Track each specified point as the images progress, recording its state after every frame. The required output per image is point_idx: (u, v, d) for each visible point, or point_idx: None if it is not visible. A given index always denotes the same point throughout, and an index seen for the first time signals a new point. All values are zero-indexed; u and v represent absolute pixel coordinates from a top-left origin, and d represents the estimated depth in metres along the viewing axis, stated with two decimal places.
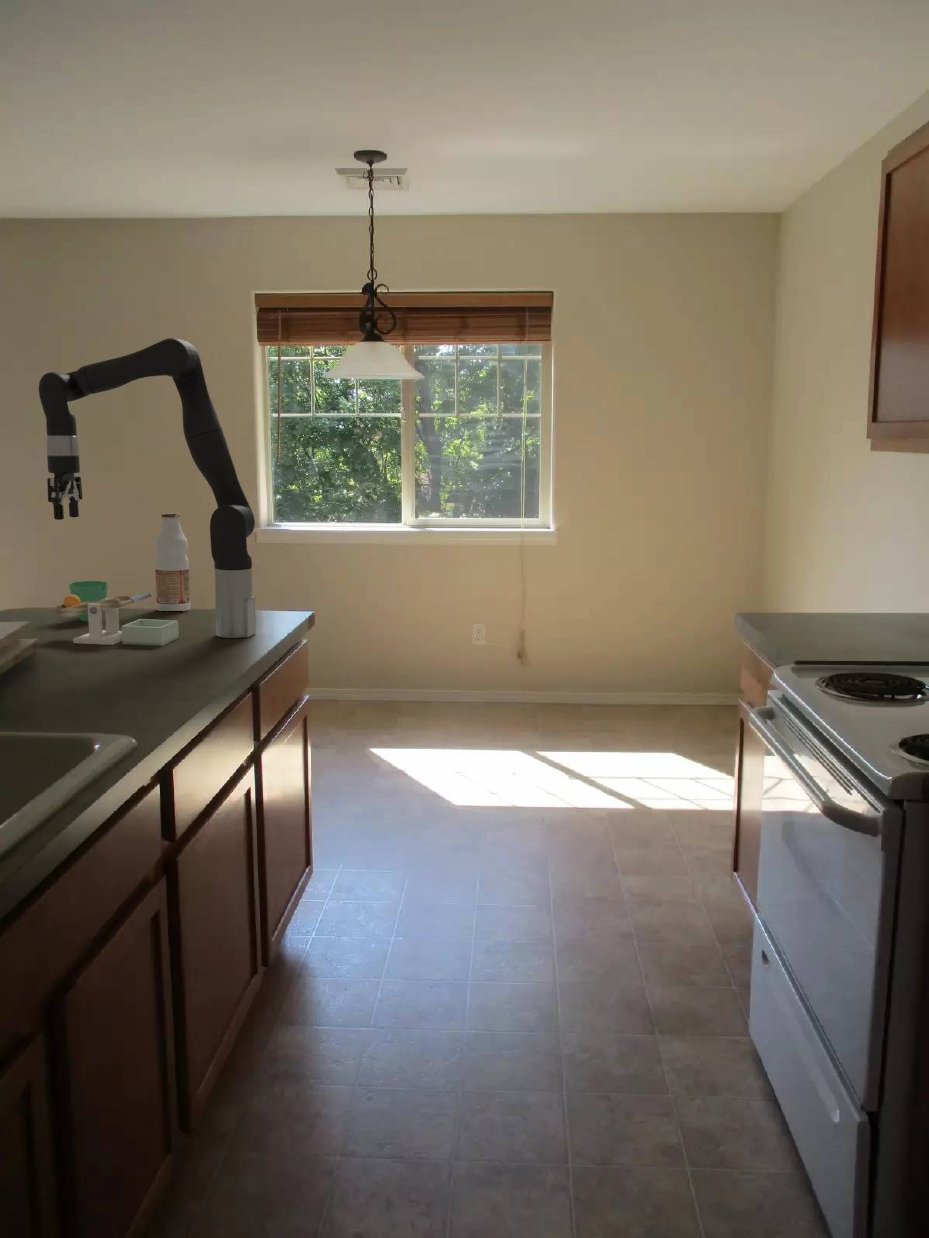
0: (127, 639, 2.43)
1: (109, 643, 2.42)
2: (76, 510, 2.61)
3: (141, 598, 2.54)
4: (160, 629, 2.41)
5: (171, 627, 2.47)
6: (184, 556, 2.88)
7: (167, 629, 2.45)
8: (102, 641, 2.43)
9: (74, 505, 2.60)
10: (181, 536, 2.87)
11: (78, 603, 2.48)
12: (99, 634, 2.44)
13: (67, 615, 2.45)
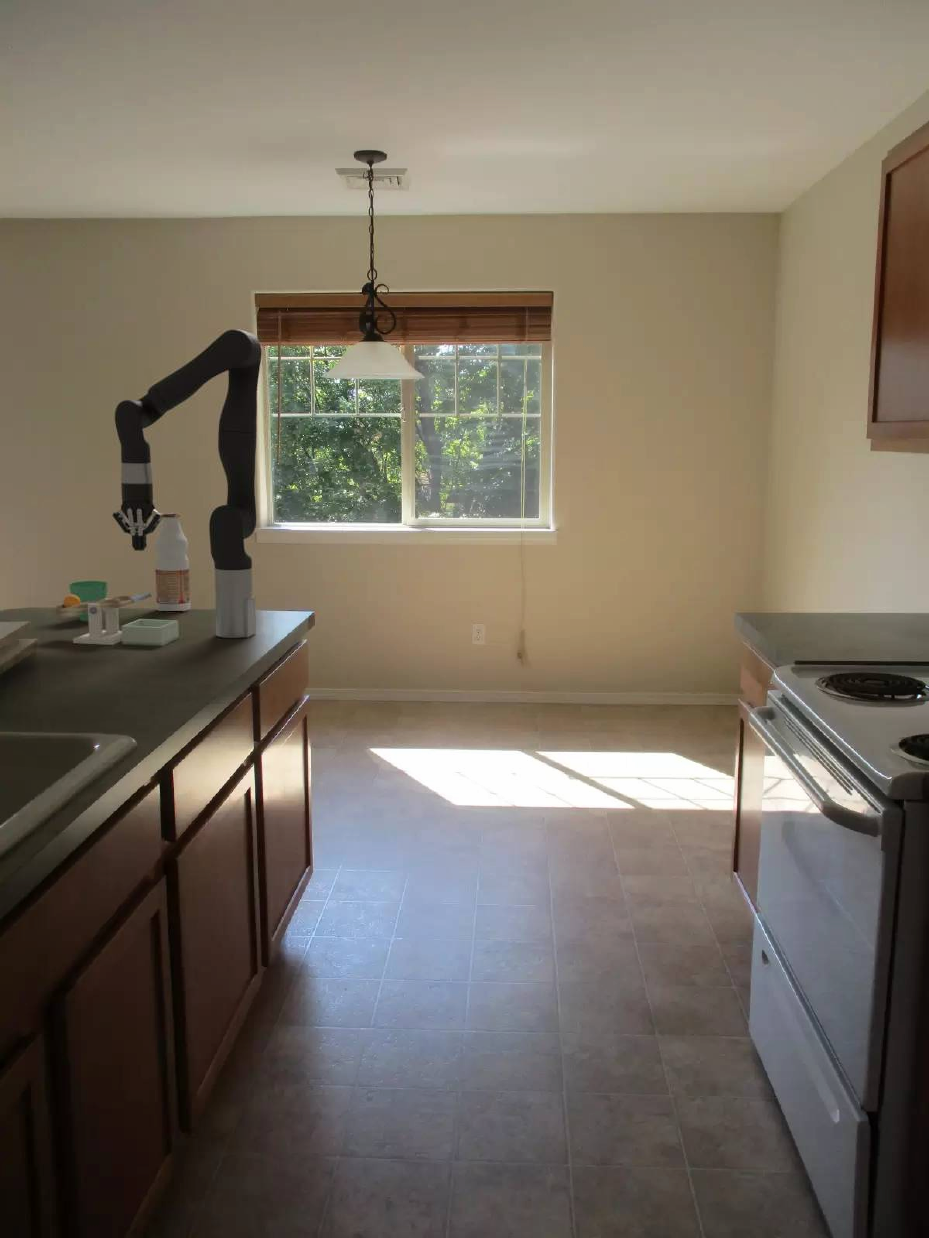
0: (127, 639, 2.43)
1: (109, 643, 2.42)
2: None
3: (141, 598, 2.54)
4: (160, 629, 2.41)
5: (171, 627, 2.47)
6: (184, 556, 2.88)
7: (167, 629, 2.45)
8: (102, 641, 2.43)
9: None
10: (181, 536, 2.87)
11: (78, 603, 2.48)
12: (99, 634, 2.44)
13: (67, 615, 2.45)
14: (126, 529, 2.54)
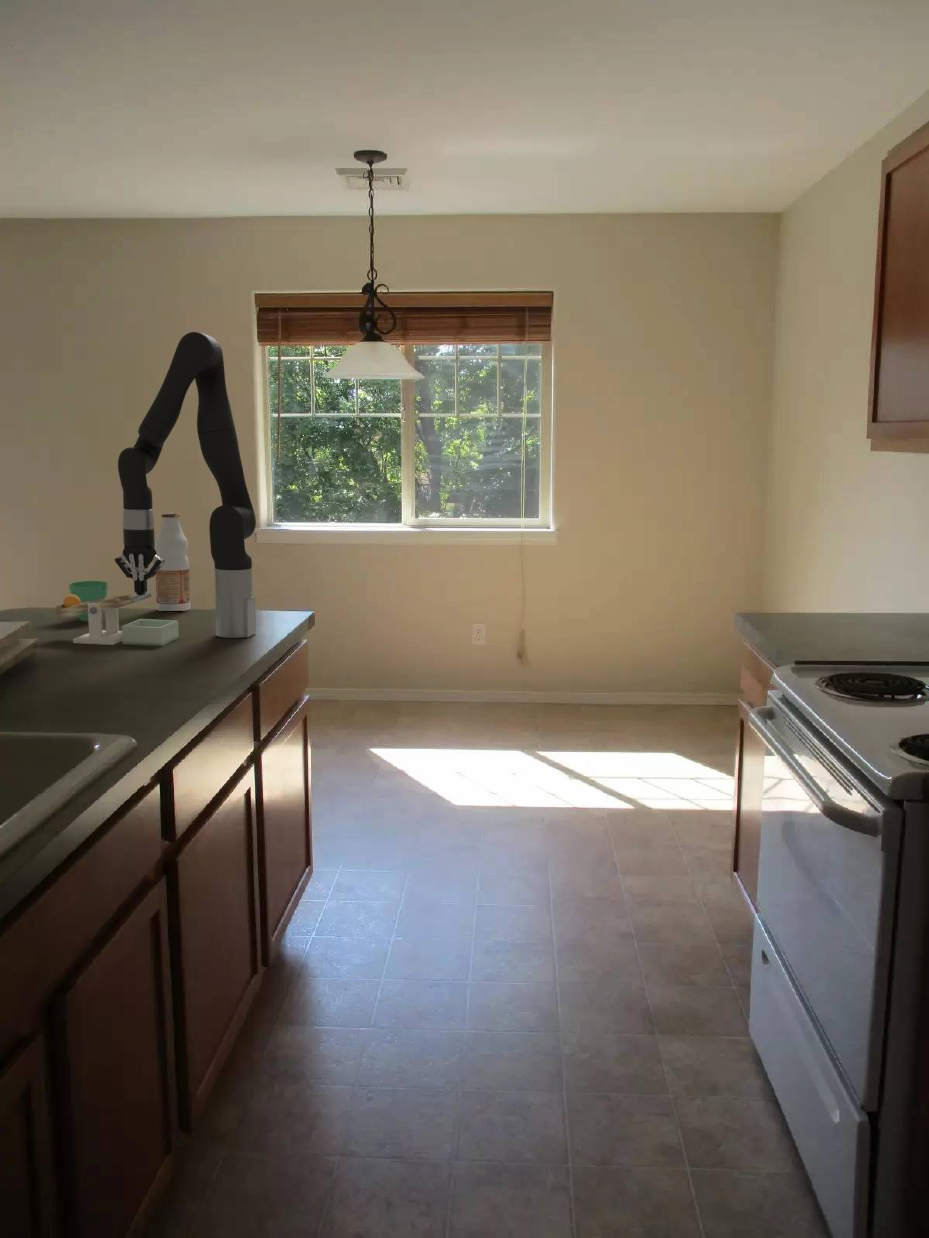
0: (127, 639, 2.43)
1: (109, 643, 2.42)
2: None
3: (141, 598, 2.54)
4: (160, 629, 2.41)
5: (171, 627, 2.47)
6: (184, 556, 2.88)
7: (167, 629, 2.45)
8: (102, 641, 2.43)
9: None
10: (181, 536, 2.87)
11: (78, 603, 2.48)
12: (99, 634, 2.44)
13: (67, 615, 2.45)
14: (128, 574, 2.56)
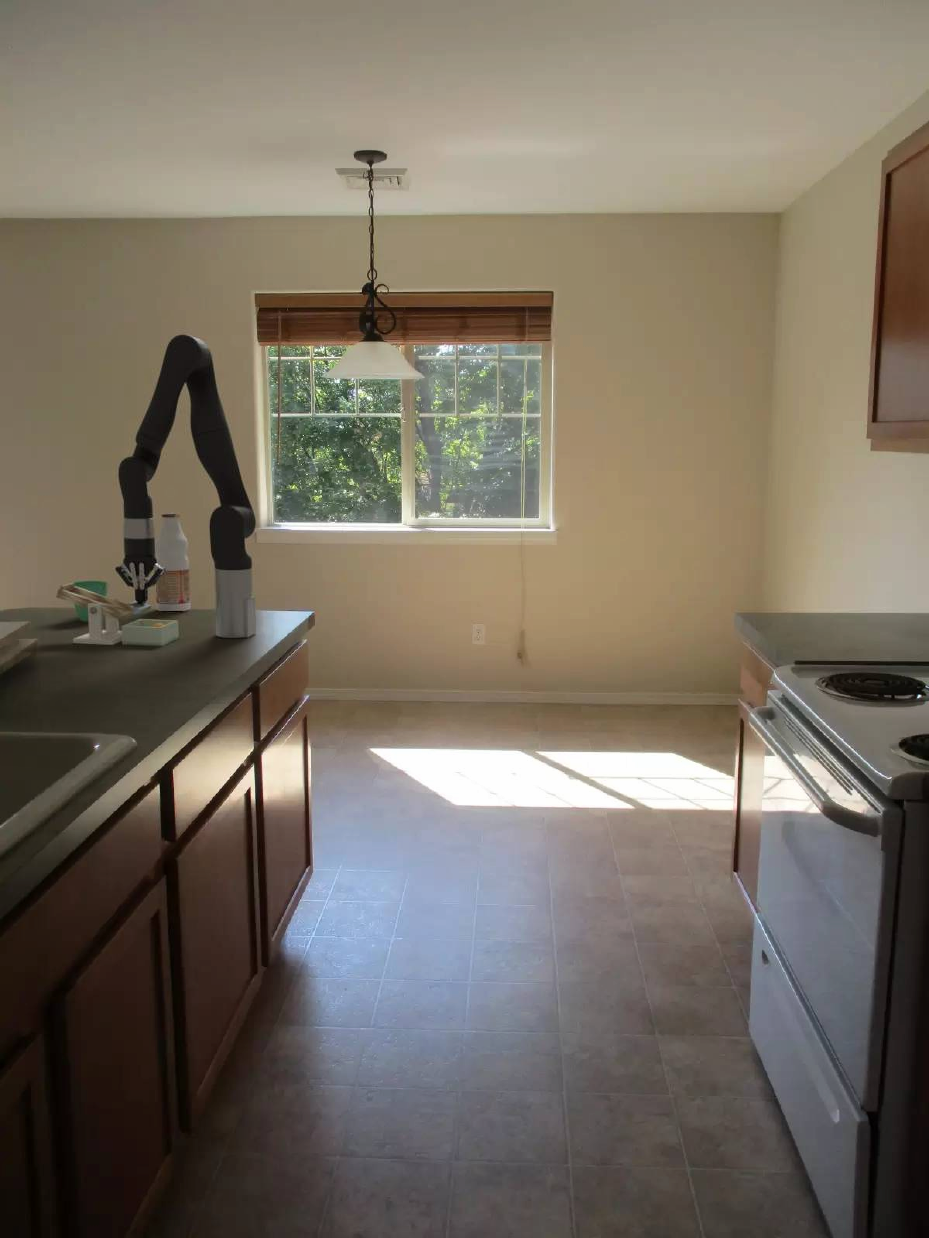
0: (127, 639, 2.43)
1: (109, 643, 2.42)
2: None
3: (141, 611, 2.54)
4: (160, 629, 2.41)
5: (171, 627, 2.47)
6: (184, 556, 2.88)
7: (167, 629, 2.45)
8: (102, 641, 2.43)
9: None
10: (181, 536, 2.87)
11: None
12: (99, 634, 2.44)
13: (66, 599, 2.45)
14: (129, 583, 2.56)
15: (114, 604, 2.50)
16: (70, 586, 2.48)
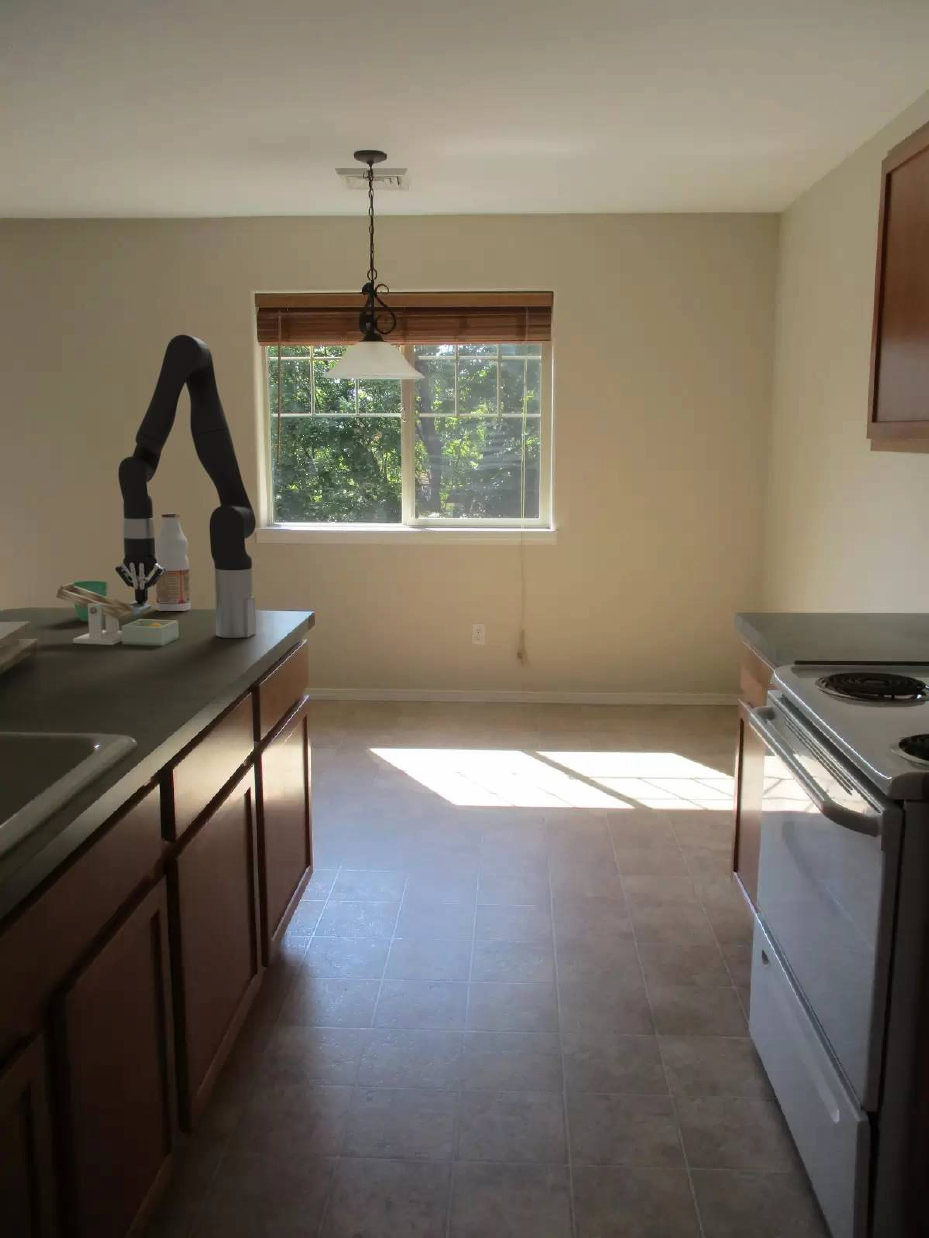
0: (127, 639, 2.43)
1: (109, 643, 2.42)
2: None
3: (141, 611, 2.54)
4: (160, 629, 2.41)
5: (171, 627, 2.47)
6: (184, 556, 2.88)
7: (167, 629, 2.45)
8: (102, 641, 2.43)
9: None
10: (181, 536, 2.87)
11: (157, 624, 2.46)
12: (99, 634, 2.44)
13: (66, 599, 2.45)
14: (129, 583, 2.56)
15: (114, 604, 2.50)
16: (70, 586, 2.48)
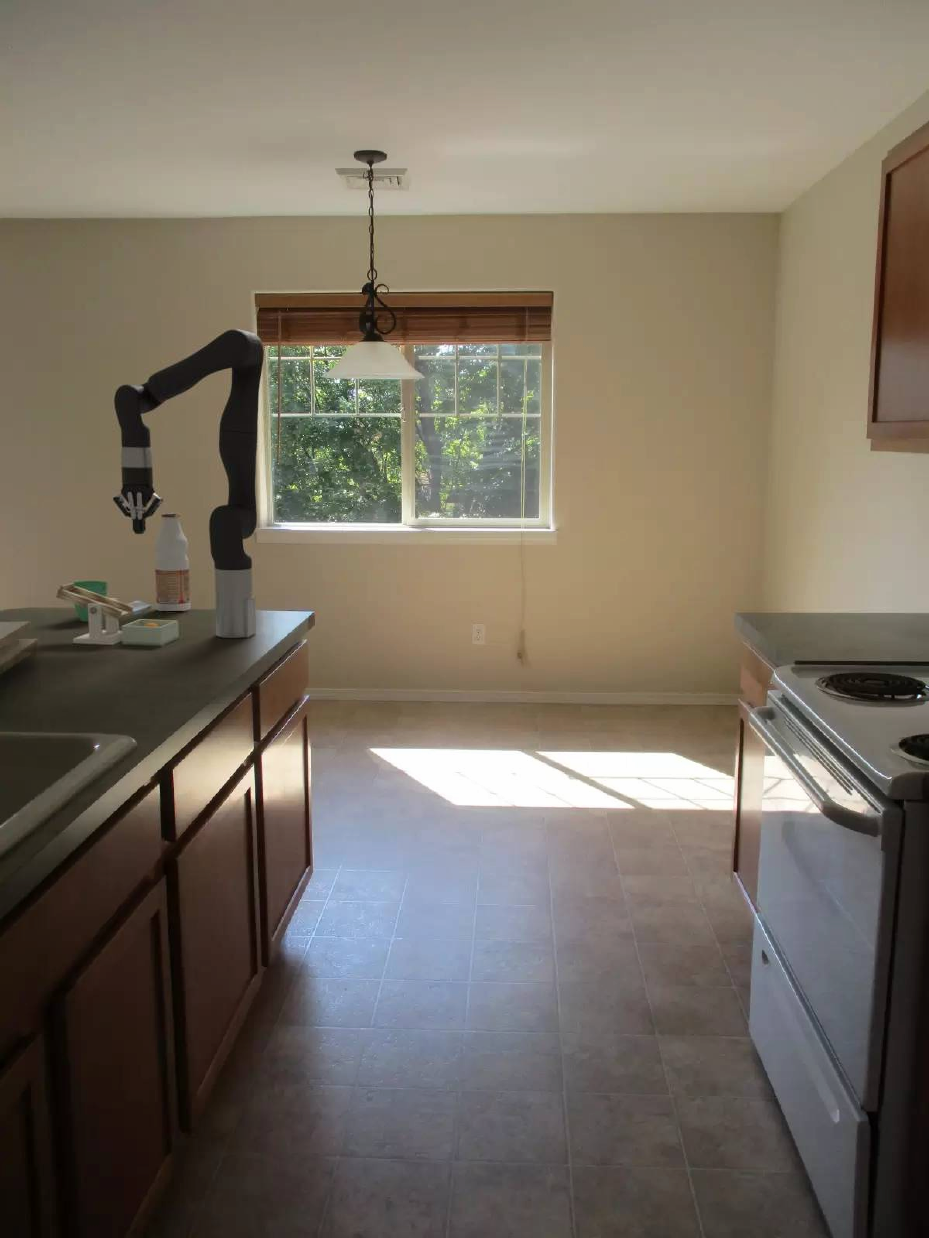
0: (127, 639, 2.43)
1: (109, 643, 2.42)
2: None
3: (141, 611, 2.54)
4: (160, 629, 2.41)
5: (171, 627, 2.47)
6: (184, 556, 2.88)
7: (167, 629, 2.45)
8: (102, 641, 2.43)
9: None
10: (181, 536, 2.87)
11: (148, 623, 2.46)
12: (99, 634, 2.44)
13: (66, 599, 2.45)
14: (127, 513, 2.57)
15: (114, 604, 2.50)
16: (70, 586, 2.48)
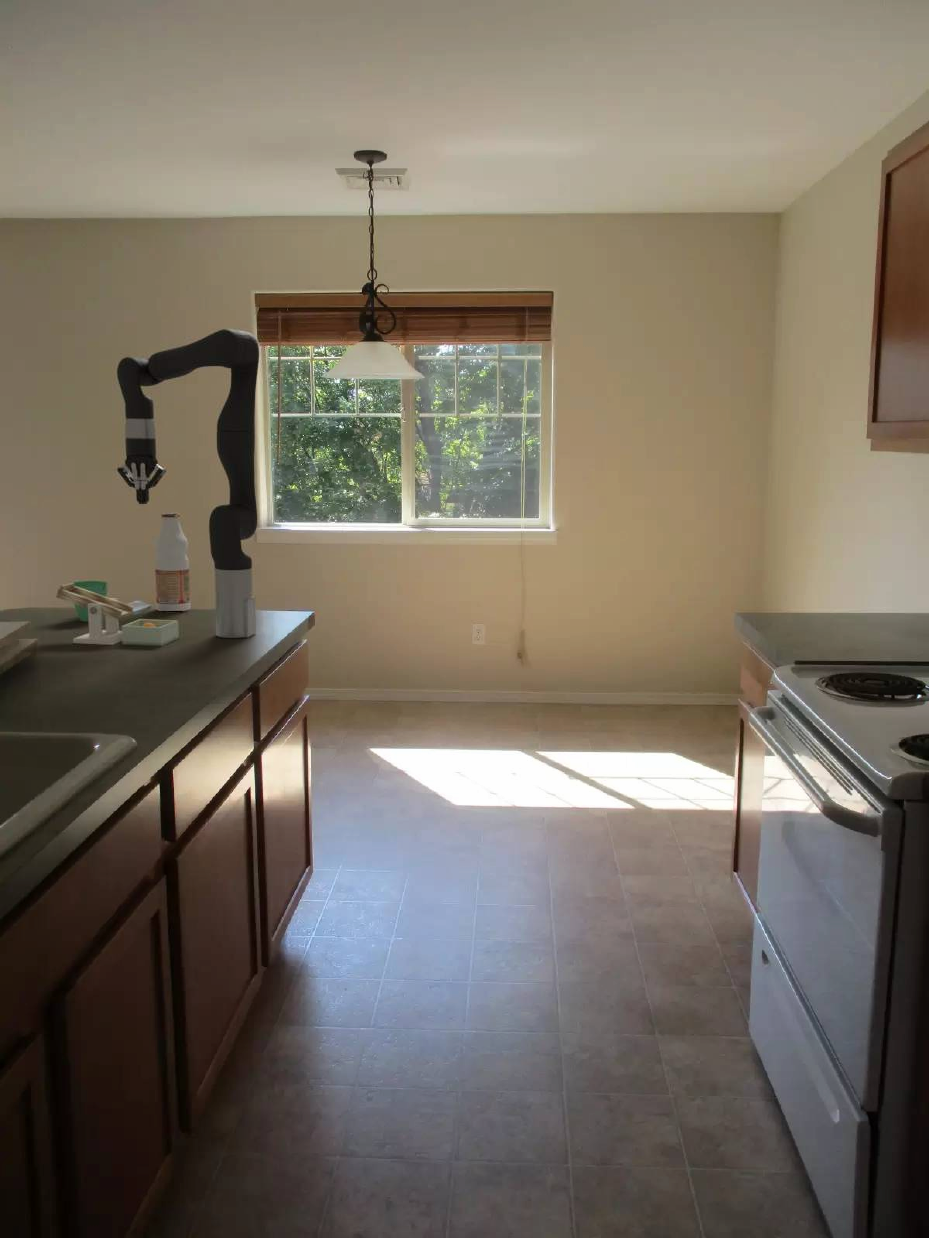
0: (127, 639, 2.43)
1: (109, 643, 2.42)
2: None
3: (141, 611, 2.54)
4: (160, 629, 2.41)
5: (171, 627, 2.47)
6: (184, 556, 2.88)
7: (167, 629, 2.45)
8: (102, 641, 2.43)
9: None
10: (181, 536, 2.87)
11: None
12: (99, 634, 2.44)
13: (66, 599, 2.45)
14: (131, 483, 2.63)
15: (114, 604, 2.50)
16: (70, 586, 2.48)
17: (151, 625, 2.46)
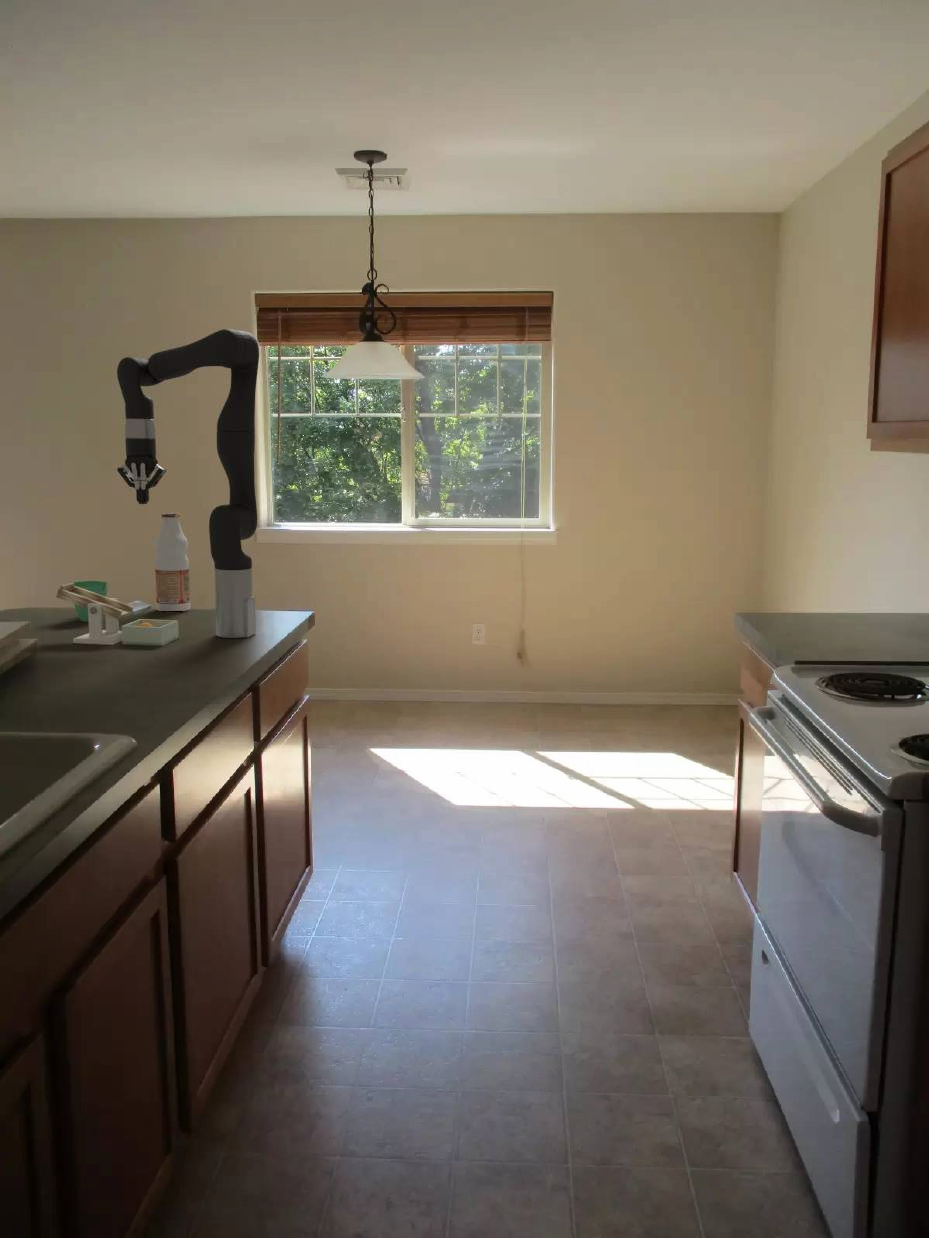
0: (127, 639, 2.43)
1: (109, 643, 2.42)
2: None
3: (141, 611, 2.54)
4: (160, 629, 2.41)
5: (171, 627, 2.47)
6: (184, 556, 2.88)
7: (167, 629, 2.45)
8: (102, 641, 2.43)
9: None
10: (181, 536, 2.87)
11: None
12: (99, 634, 2.44)
13: (66, 599, 2.45)
14: (131, 483, 2.63)
15: (114, 604, 2.50)
16: (70, 586, 2.48)
17: (146, 624, 2.46)
